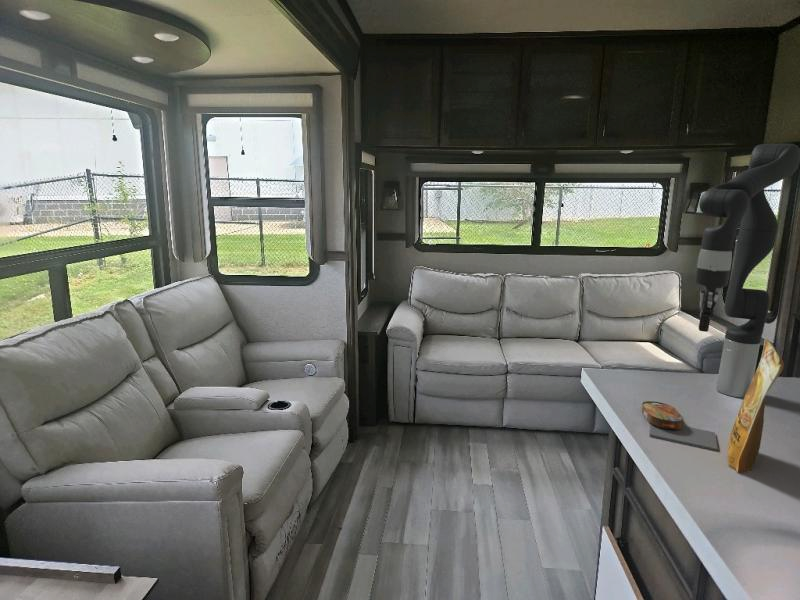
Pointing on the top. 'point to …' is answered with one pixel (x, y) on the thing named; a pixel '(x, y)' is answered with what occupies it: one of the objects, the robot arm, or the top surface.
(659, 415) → the tin
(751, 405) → the pancake mix bag
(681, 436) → the mat
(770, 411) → the top surface
